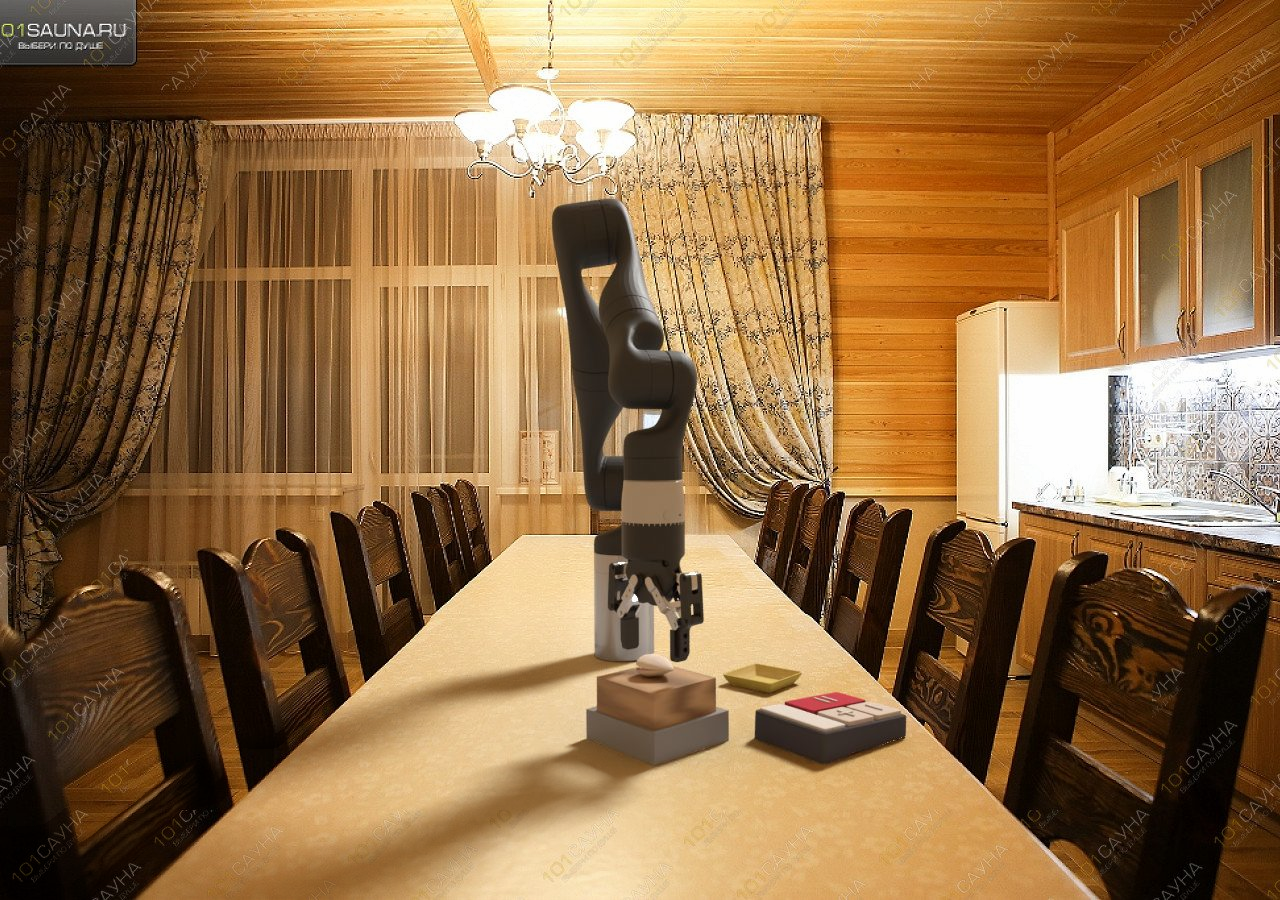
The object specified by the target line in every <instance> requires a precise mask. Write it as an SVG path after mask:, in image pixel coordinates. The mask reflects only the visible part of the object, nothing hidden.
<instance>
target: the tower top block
mask: <svg viewBox="0 0 1280 900" xmlns="http://www.w3.org/2000/svg"><path fill="white" fill-rule="evenodd" d="M672 666H673V665H672ZM638 667H639V666H636V667H632V668H628V669H623V670H619V671H615V672H610V673H607V674H603V675H597V676H596V706H597V710H598V711H601V712H603V713H606V714H609V715H612V716H615V717H618V718H620V719H623V720H626V721H629V722H632V723H635V724H637V725H640V726H643V727H646V728H649V729H651V730H657V729H660V728H663V727H667V726H670V725H673V724H677V723H680V722H683V721H686V720H690V719H693V718H696V717H699V716H703V715H706V714H709V713H713V712H716V707H717V687H716V686H717V679H716V678H717V677H715V676H711V675H707V674H704V673H700V672H695V671H692V670H688V669H684V668H681V667H677V666H673V668H674V670H673V671H671V672H669V673H666V674H664V675H660V676H651V677H646V676H643V675H641V674H640V673H638V672H637V671H636V668H638Z"/></svg>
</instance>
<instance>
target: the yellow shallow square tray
mask: <svg viewBox="0 0 1280 900" xmlns="http://www.w3.org/2000/svg"><path fill="white" fill-rule="evenodd" d="M802 674H803V672H802V671H799V670H793V669H789V668H783V667H778V666H775V665H767V664H761V663H752V664H748V665H746V666H742V667H739V668H736V669H733V670H730V671H726V672H724V673H723V674H722V676H723V678H724V679H725V680H726V681H727V682H728V683H729V684H730V685H731V686H734V687H739V688H744V689H748V690H753V691H757V692H763V693H765V694H766V693H768V694H771V693H774V692H776V691H778V690H781V689H784V688H787V687H788V686H792V685H793V684H795V682H797V681H798V680H799V679H800V677H801V676H802Z"/></svg>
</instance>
